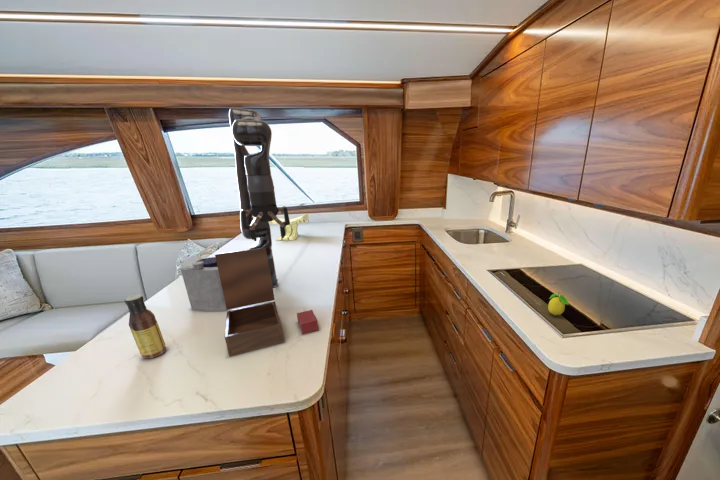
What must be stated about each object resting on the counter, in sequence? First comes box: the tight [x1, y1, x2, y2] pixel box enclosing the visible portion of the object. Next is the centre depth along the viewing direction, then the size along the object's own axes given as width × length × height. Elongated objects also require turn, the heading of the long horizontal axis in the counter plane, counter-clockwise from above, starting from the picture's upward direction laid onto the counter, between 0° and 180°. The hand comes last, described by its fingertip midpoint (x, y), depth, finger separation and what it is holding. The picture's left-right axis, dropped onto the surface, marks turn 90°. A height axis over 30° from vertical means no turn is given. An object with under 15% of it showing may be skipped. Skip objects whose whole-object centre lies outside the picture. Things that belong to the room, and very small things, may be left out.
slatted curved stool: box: [269, 212, 310, 241], centre depth 227 cm, size 30×16×18 cm, turn 93°
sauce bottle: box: [123, 293, 167, 360], centre depth 89 cm, size 6×6×20 cm
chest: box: [224, 300, 285, 357], centre depth 101 cm, size 19×16×7 cm
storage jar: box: [196, 256, 217, 267], centre depth 134 cm, size 10×10×15 cm
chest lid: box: [214, 248, 276, 311], centre depth 107 cm, size 20×16×5 cm
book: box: [296, 309, 319, 335], centre depth 106 cm, size 9×6×4 cm, turn 27°
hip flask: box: [180, 261, 230, 312], centre depth 117 cm, size 16×4×20 cm, turn 84°
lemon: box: [547, 292, 569, 317], centre depth 110 cm, size 7×6×10 cm
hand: (269, 239), depth 100 cm, fingers open, 8 cm apart
